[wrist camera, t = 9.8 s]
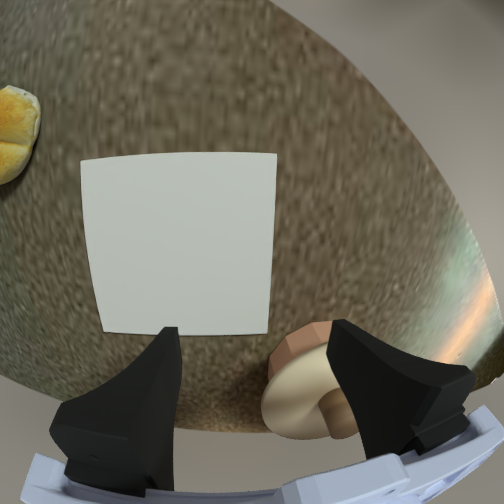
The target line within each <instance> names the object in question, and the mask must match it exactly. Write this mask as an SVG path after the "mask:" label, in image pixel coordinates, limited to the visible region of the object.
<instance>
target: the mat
mask: <svg viewBox="0 0 504 504" xmlns="http://www.w3.org/2000/svg"><path fill="white" fill-rule="evenodd" d="M276 166H277V154H270V153H244V152H186V153H161V154H144V155H131V156H120V157H110V158H101V159H92V160H85V161H81V191H82V206H83V218H84V228H85V237H86V245H87V252H88V259H89V265H90V271H91V276H92V282H93V287H94V292H95V297H96V301H97V306H98V310H99V314H100V318H101V322H102V326H103V330H104V332H115V333H132V334H154V335H158V333H159V332H160V331H161V330H162V329H163V328H164V327H178V333H179V335H241V334H264V333H267V328H268V314H269V299H270V283H271V267H272V250H273V231H274V211H275V190H276Z"/></svg>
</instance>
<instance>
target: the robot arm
mask: <svg viewBox="0 0 504 504" xmlns="http://www.w3.org/2000/svg"><path fill="white" fill-rule="evenodd" d="M326 356H327V359H328V362H329V365H330V368H331V370H332V372H333V374H334V376H335V378H336V380H337V382H338V384H339V386H340V388H341V390H342V391H343V393H344V395H345V397H346V399H347V401H348V403H349V405H350V407H351V409H352V412H353V415H354V418H355V420H356V423H357V426H358V429H359V432H360V436H361V439H362V443H363V447H364V450H365V454H366V459H367V460H365V461H362V462H359V463H355V464H352V465H348V466H345V467H341V468H337V469H333V470H329V471H325V472H320V473H316V474H311V475H308V476H304V477H301V478H297V479H294V480H292V481H290V482H288V483H285V484H283V485H282V486H281V487H280V488H277V489H269V490H259V491H248V492H231V493H194V492H175V491H174V478H173V432H174V419H175V413H176V407H177V401H178V396H179V390H180V384H181V377H182V355H181V348H180V341H179V333H178V327H164V328H163V329H162V330H161V331H160V332H159V333H158V335H157V336H156V337H155V338H154V340H153V341H152V342H151V343H150V344H149V345H148V347H147V348H146V349H145V350H144V351H143V352H142V353H141V354H140V355H139V356H138V357H137V358H136V359H135V360H134V361H133V362H132V363H131V364H130V365H129V366H128V367H127V368H126V369H124V370H123V371H122V372H121V373H119V374H118V375H117V376H115V377H114V378H112V379H111V380H109V381H108V382H106V383H105V384H103V385H101V386H100V387H98V388H96V389H94V390H92V391H90V392H88V393H86V394H84V395H82V396H79V397H77V398H74V399H71V400H68V401H66V402H63V403H61V405H60V407H59V408H58V410H57V413H56V415H55V417H54V419H53V422H52V424H51V427H50V429H49V431H50V435H51V437H52V438H53V440H54V442H55V443H56V444H57V445H58V447H59V448H60V449H61V450H62V452H63V453H64V454H65V455H66V456H67V457H68V460H67V461H66V463H65V464H64V463H63V462H61V461H59V460H57V459H54V458H51V457H48V456H45V455H43V454H40V453H35V456H34V458H33V461H32V464H31V467H30V469H29V472H28V475H27V477H26V481H25V483H24V487H23V490H22V493H21V496H20V499H21V500H22V501H23V502H24V503H26V504H424V503H426V502H427V501H429V500H431V499H432V498H434V497H436V496H437V495H439V494H440V493H442V492H444V491H445V490H447V489H448V488H450V487H451V486H453V485H454V484H455V483H457V482H458V481H460V480H461V479H462V478H464V477H465V476H467V475H468V474H469V473H471V472H472V471H473V470H475V469H476V468H477V467H478V466H480V465H481V464H482V463H483V462H484V461H485V460H486V459H487V458H488V457H489V456H490V455H491V454H492V453H493V452H494V451H495V450H496V449H497V447H498V446H499V445H500V444H501V443H502V442H503V441H504V428H503V426H502V425H501V424H500V423H499V421H498V420H497V419H496V418H495V417H494V416H493V414H492V413H491V412H490V411H489V410H488V409H487V407H486V406H485V405H482V406H480V407H479V408H477V409H476V410H474V411H472V412H471V413H470V414H468V415H467V417H466V416H465V415H464V414H463V412H464V411H465V408H464V407H463V406H462V404H463V403H464V401H465V400H466V398H467V396H468V395H469V393H470V392H471V390H472V388H473V386H474V383H475V375H474V374H473V372H472V371H471V370H470V369H469V368H468V367H467V366H464V365H453V364H445V363H440V362H435V361H431V360H427V359H423V358H420V357H417V356H414V355H411V354H408V353H406V352H403V351H401V350H399V349H397V348H394V347H392V346H390V345H388V344H386V343H385V342H383V341H381V340H379V339H377V338H376V337H374V336H372V335H370V334H369V333H367V332H366V331H364V330H362V329H361V328H359V327H357V326H356V325H354V324H352V323H351V322H349V321H347V320H345V319H340V320H333V321H332V326H331V331H330V336H329V341H328V345H327V350H326Z"/></svg>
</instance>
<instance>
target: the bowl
mask: <svg viewBox="0 0 504 504" xmlns="http://www.w3.org/2000/svg"><path fill="white" fill-rule="evenodd" d="M331 326H332V321H325V322H314V323H309V324H308V325H306V326H304V327H302V328H300V329H298V330H297V331H295V332H293V333H291V334H289V335H287V336H285V337H284V339H283V340H282V341H281V342H280V344H279V345H278V346H277V348H276V349H275V350H274V351H273V353H272V354H271V355H270V356H269V366H268V379H269V382H270V380H271V379H272V378H273V377H274V376H275V374H276V373H277V372H278V371H279V370H280V369H281V368H283V367H284V366H285V365H286V364H287V363H289V362H290V361H291V360H293V359H294V358H296V357H297V356H299V355H300V354H302V353H304V352H305V351H307V350H309V349H311V348H313V347H315V346H318V345H320V344H322V343H325V342H328V341H329V336H330V331H331Z"/></svg>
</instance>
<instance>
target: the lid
mask: <svg viewBox="0 0 504 504" xmlns="http://www.w3.org/2000/svg"><path fill="white" fill-rule="evenodd" d="M377 339H378V338H377ZM379 340H380V339H379ZM381 341H382V340H381ZM383 342H384V341H383ZM327 345H328V342H325V343H322V344H320V345H318V346H315V347H313V348H311V349H309V350H307V351H305V352H304V353H302V354H300V355H299V356H297V357H296V358H294V359H293V360H291V361H290V362H289V363H287V364H286V365H285V366H284V367H283V368H281V369H280V370H279V371H278V372H277V373H276V374H275V376H274V377H273V378H272V379H271V380H270V382H269V383H268V385H267V386H266V388H265V390H264V392H263V395H262V399H261V412H262V417H263V420H264V422H265V424H266V426H267V427H268V428H269V429H270V430H271V431H272V432H274V433H276V434H278V435H280V436H282V437H286V438H290V439H298V440H307V439H308V440H310V439H318V438H323V437H327V436H331V437H332V438H333V439H344V438H348V437H350V436H352V435H354V434H356V433H358V432H359V429H358V426H357V423H356V420H355V418H354V415H353V412H352V409H351V407H350V405H349V403H348V401H347V399H346V397H345V395H344V393H343V391H342V390H341V388H340V386H339V384H338V382H337V380H336V378H335V376H334V374H333V372H332V370H331V368H330V365H329V362H328V359H327V356H326V350H327Z"/></svg>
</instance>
